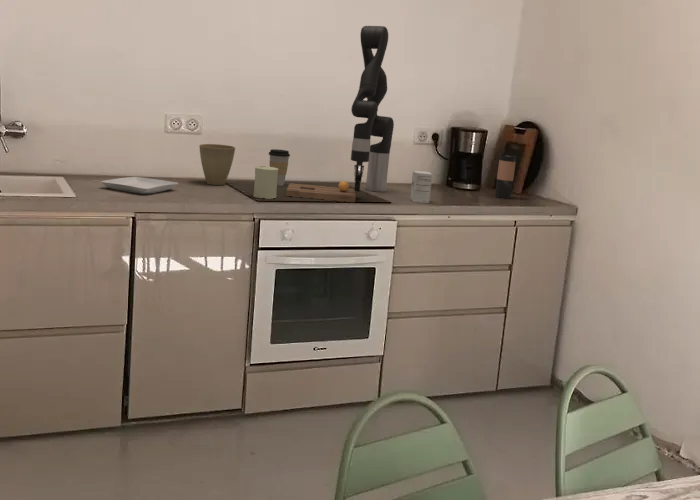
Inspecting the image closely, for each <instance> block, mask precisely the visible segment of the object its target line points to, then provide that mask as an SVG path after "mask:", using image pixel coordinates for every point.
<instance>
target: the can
mask: <svg viewBox="0 0 700 500" xmlns="http://www.w3.org/2000/svg"><path fill="white" fill-rule="evenodd" d="M254 169H255V170H254V171H255V172H254V173H255V174H254V186H253V195H252V196H253V197H254V198H257V199H262V198H265V199H264V200H274V199H273V198H275V199H277V192H278V191H277V190H278V189H277V188H278V186H277V178H278V168H274V167H270V166H266V165H263V166H255V167H254Z"/></svg>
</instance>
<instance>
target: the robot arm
mask: <svg viewBox="0 0 700 500" xmlns="http://www.w3.org/2000/svg"><path fill="white" fill-rule="evenodd" d="M359 36H360V45H361V46H360V47H361V51H362V57H363V65H364V69H363V71H362V73H361V76H360V81H359V87H358V91H357V94H356V96H355V99H354V101H353V102H352V104H351V110H350V111H351V114H352V116H353V117H355V118H362V119H367V120H366V121H365V122H362V123H361V122H360V123H359V122H358V123H356V124H355V125H354V129H353V139H352V143H351V152H350V160H351V161H352V162H356V164H354V168H353V171H354V172H353V174H354V175H353V177H354V187H353V189H354V191H355V192H357V193H358V192H360V191H361V183H362V178H363V175H364V171H365V165H363V163H367V172H366V183H365V191H370V192H371V191H372V192H381V193H382V192H386V190H387V183H388V174H389V173H388V171H389V163H390V154H391V153H390V152H391V148H392V140H393V133H394V126H395V123H394V122H395V121H394V119H393V118H392V117H390V116H382V115H378V110H379V106H380V104H381V102H382V101H383V100H384V98H385V96H386V95H387V91H388V79H387V74H386V72H385V70H384V69H383V68H382V64H383V60H384V58H385V54H386V51H387V47H388V42H389V32H388V27H386V26H384V25H364V26H362V27H361V29H360V35H359ZM372 50H376V52H375V54H374V53H373V51H372ZM364 99H367V100H364ZM371 137H378V138H382V140H381V141H379V142H378V143H373V144H371V139H372V138H371Z"/></svg>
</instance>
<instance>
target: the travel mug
mask: <svg viewBox="0 0 700 500" xmlns="http://www.w3.org/2000/svg"><path fill="white" fill-rule="evenodd" d="M516 161H517V155H512V154H504V153H503V154H500V155H499V161H498V168H497V173H496V182H495V183H496V184H495V193H494V197H495V196H496V197H495V198H497V197H500V198H499V199H502V198H510V199H511V195H512V189H513V184H514V177H515V170H516V163H517V162H516Z"/></svg>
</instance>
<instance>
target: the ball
mask: <svg viewBox="0 0 700 500" xmlns="http://www.w3.org/2000/svg"><path fill="white" fill-rule="evenodd" d="M337 188H339V190H340V191H342V192H345V191H347V190H348V189H350V184H349V182H348V181H346V180H341V181H340V182H339V183H338V187H337Z"/></svg>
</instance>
